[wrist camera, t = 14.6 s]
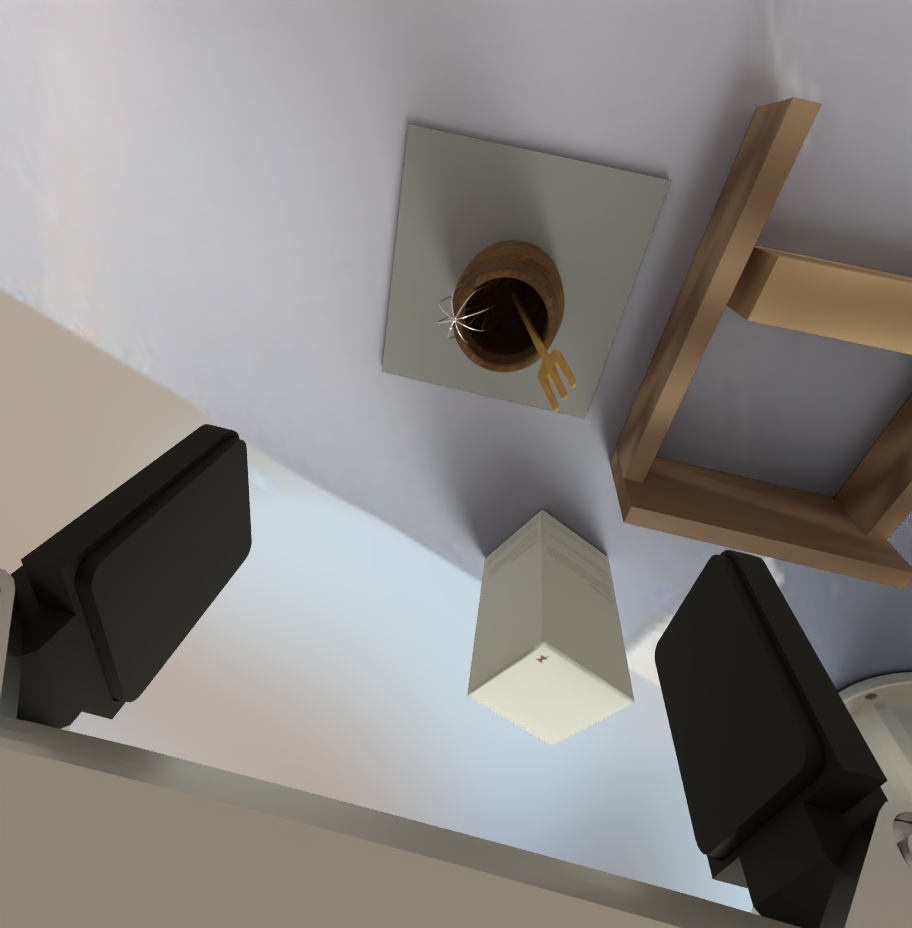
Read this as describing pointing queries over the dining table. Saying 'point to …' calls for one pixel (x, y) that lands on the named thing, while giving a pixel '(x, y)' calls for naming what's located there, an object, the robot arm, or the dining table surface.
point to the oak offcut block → (826, 299)
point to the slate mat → (524, 219)
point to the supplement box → (549, 633)
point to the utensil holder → (512, 313)
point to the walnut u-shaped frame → (671, 370)
